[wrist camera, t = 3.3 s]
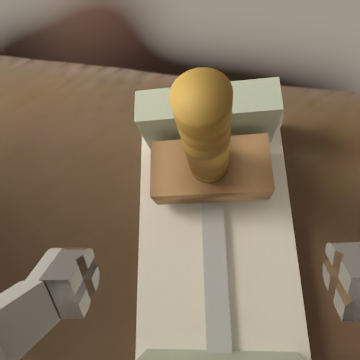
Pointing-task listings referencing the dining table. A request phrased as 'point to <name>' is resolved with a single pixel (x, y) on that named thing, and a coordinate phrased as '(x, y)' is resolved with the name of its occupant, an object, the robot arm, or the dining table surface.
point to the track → (219, 252)
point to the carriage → (208, 148)
